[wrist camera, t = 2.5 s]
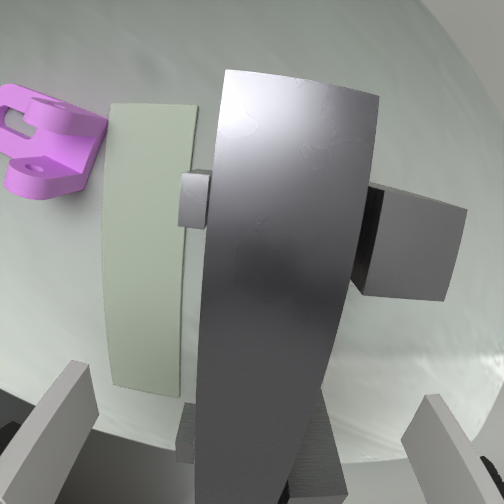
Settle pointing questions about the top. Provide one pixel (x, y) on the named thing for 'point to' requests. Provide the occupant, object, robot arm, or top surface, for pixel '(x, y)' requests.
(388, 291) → the hook rack
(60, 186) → the bracket
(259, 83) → the rail
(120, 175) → the mat
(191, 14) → the top surface
